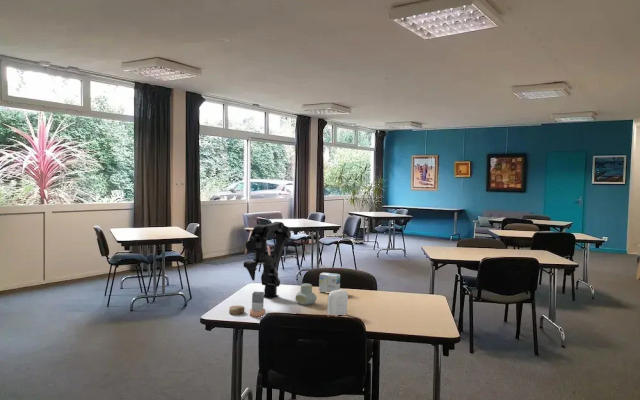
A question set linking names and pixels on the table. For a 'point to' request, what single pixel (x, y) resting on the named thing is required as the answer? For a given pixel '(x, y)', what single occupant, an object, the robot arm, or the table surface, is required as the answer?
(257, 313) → the stand
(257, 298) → the plate
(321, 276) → the light bulb box
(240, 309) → the stand
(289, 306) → the table surface
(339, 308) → the photo printer
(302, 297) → the grey plastic tee piece
